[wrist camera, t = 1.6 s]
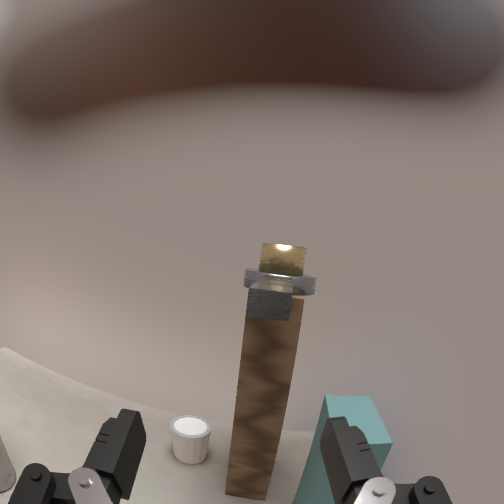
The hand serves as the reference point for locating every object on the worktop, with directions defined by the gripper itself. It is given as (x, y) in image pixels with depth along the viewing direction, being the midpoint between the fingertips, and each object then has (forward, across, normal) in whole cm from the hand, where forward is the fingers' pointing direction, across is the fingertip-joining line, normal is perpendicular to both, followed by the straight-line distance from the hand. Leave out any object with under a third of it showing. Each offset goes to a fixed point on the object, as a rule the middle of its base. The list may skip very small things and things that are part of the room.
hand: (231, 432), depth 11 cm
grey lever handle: (+20, -4, +2) cm, 21 cm away
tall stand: (+19, -3, +34) cm, 39 cm away
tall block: (+7, -11, +32) cm, 34 cm away
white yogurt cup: (+23, +8, +35) cm, 42 cm away
